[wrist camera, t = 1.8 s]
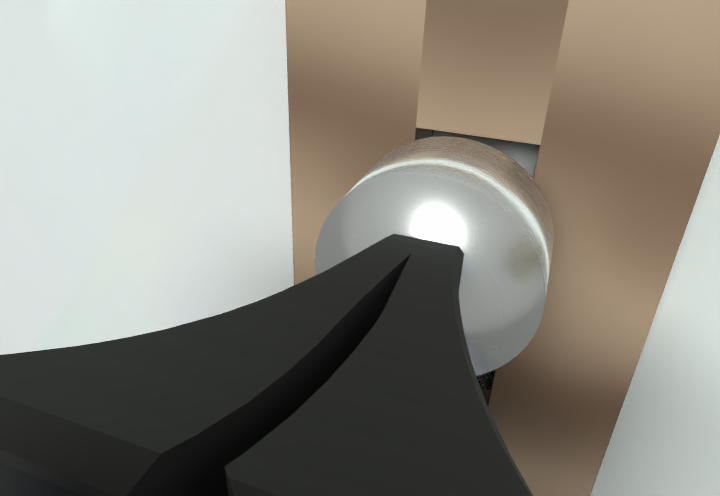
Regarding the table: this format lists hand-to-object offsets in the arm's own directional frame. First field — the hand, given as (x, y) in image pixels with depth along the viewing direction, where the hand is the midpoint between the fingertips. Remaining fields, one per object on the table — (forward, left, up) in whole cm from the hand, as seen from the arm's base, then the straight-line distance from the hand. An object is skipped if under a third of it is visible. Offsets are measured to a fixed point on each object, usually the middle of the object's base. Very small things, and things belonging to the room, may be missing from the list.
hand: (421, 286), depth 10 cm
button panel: (-7, 0, -7) cm, 9 cm away
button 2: (0, 0, -4) cm, 4 cm away
